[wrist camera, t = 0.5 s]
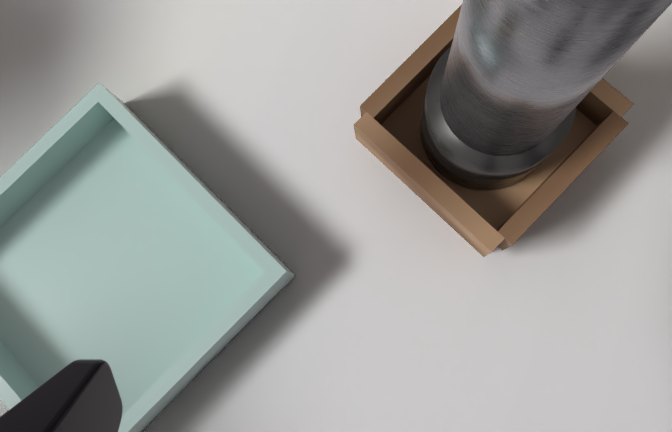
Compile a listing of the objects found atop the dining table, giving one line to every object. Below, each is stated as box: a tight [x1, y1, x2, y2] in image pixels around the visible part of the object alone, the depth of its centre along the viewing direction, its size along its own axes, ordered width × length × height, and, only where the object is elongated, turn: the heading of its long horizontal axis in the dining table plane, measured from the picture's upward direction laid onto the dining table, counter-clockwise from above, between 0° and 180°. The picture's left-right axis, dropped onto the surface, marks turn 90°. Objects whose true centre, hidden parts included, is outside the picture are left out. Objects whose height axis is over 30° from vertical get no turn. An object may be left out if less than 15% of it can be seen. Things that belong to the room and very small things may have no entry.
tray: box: [0, 83, 295, 432], centre depth 21 cm, size 10×10×2 cm
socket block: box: [354, 5, 633, 257], centre depth 20 cm, size 7×7×2 cm
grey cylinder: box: [420, 0, 672, 191], centre depth 15 cm, size 4×4×12 cm
